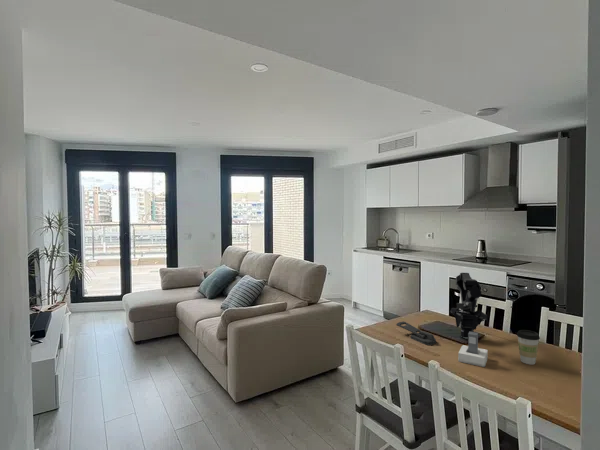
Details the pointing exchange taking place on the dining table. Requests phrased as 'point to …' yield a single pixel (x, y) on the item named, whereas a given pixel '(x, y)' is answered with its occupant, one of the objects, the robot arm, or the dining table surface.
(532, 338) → the coffee cup
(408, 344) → the dining table surface
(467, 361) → the block
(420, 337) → the zipper pull
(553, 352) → the dining table surface
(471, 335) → the bracket post
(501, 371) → the dining table surface
